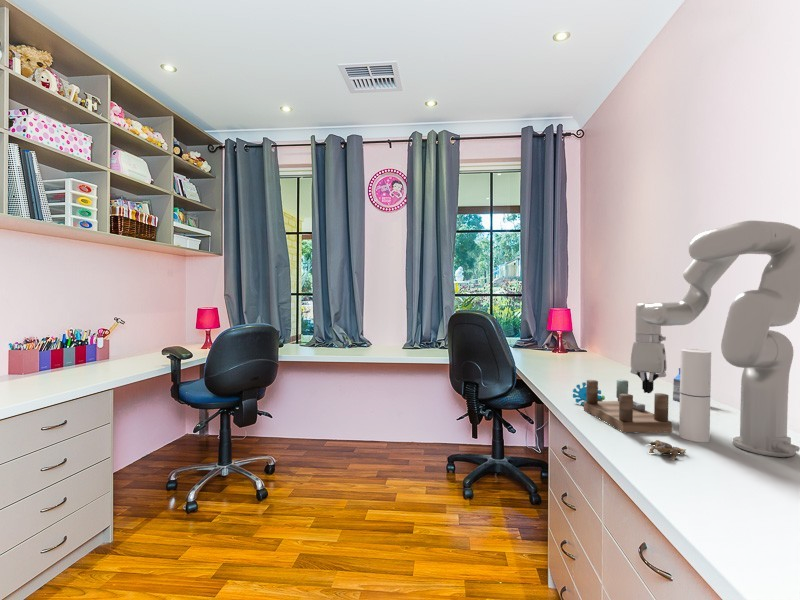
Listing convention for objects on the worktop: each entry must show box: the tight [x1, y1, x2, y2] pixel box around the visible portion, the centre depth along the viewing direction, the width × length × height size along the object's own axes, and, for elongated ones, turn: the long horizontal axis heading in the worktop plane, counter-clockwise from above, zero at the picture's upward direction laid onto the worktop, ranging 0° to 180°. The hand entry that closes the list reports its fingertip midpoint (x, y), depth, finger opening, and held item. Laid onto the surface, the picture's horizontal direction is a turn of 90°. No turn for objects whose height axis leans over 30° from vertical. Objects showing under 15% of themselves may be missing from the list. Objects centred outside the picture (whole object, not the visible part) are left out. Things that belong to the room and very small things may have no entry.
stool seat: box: [583, 379, 673, 433], centre depth 137 cm, size 24×15×11 cm, turn 3°
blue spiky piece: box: [572, 381, 606, 406], centre depth 158 cm, size 11×6×10 cm
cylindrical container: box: [678, 348, 712, 443], centre depth 121 cm, size 7×7×25 cm
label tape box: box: [672, 367, 680, 402], centre depth 160 cm, size 9×4×12 cm, turn 28°
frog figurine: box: [648, 439, 687, 460], centre depth 110 cm, size 12×12×4 cm
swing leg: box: [615, 379, 646, 411], centre depth 143 cm, size 13×4×8 cm, turn 4°
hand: (647, 392), depth 145 cm, fingers closed
